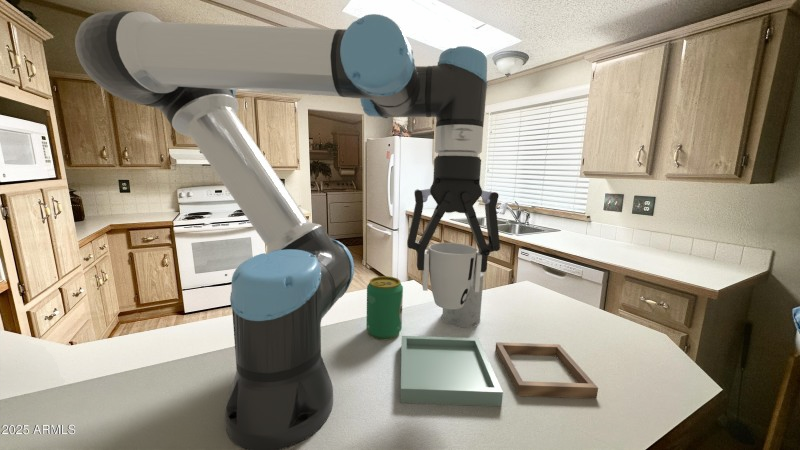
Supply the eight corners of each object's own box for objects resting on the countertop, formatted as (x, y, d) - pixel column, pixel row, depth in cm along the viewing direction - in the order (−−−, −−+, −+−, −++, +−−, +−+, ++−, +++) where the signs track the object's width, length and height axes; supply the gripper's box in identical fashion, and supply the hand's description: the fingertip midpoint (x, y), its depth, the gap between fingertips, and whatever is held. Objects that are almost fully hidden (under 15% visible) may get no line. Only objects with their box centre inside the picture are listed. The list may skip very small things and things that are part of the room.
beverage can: (404, 339, 68) (405, 287, 66) (367, 341, 67) (367, 288, 65) (398, 322, 76) (400, 275, 74) (365, 323, 74) (366, 275, 72)
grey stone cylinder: (484, 328, 74) (488, 278, 72) (444, 326, 74) (447, 277, 72) (475, 310, 84) (478, 266, 81) (439, 309, 84) (442, 265, 82)
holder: (518, 395, 52) (519, 385, 51) (495, 351, 65) (496, 342, 64) (596, 398, 52) (598, 387, 51) (558, 353, 64) (559, 344, 64)
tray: (400, 402, 49) (401, 388, 49) (401, 346, 65) (401, 335, 65) (501, 406, 49) (502, 392, 49) (477, 349, 65) (478, 338, 65)
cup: (473, 316, 50) (477, 256, 48) (423, 310, 52) (425, 251, 50) (472, 296, 58) (475, 244, 56) (428, 292, 60) (431, 241, 58)
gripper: (392, 152, 47) (389, 295, 51) (531, 156, 47) (517, 298, 51) (394, 154, 54) (391, 279, 58) (514, 158, 54) (503, 282, 58)
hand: (450, 288), depth 54 cm, fingers closed on cup, 8 cm apart
